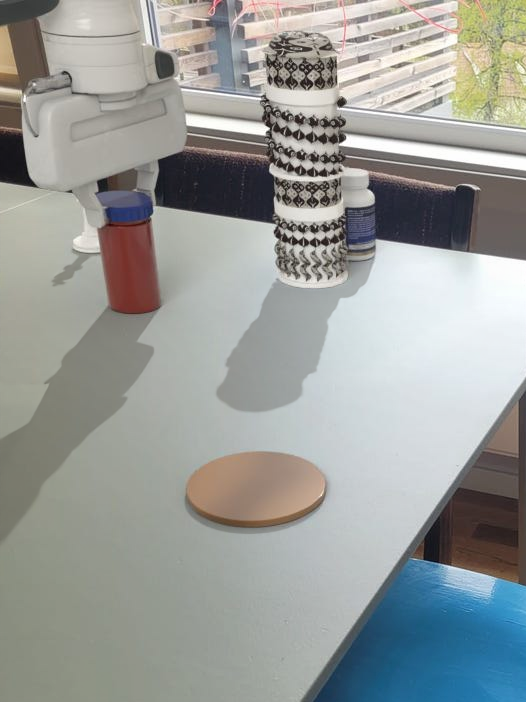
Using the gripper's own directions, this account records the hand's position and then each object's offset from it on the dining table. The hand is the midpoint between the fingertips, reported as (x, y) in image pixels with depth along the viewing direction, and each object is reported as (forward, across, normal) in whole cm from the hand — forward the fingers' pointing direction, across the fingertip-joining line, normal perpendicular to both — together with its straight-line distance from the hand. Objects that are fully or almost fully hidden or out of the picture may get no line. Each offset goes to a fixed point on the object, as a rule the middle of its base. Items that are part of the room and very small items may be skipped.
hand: (123, 216), depth 103 cm
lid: (-1, 0, 0) cm, 1 cm away
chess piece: (+9, +12, +16) cm, 23 cm away
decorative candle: (+10, +18, -12) cm, 23 cm away
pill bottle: (+10, +27, -12) cm, 31 cm away
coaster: (+9, -28, -33) cm, 44 cm away
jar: (+9, 0, 0) cm, 9 cm away
